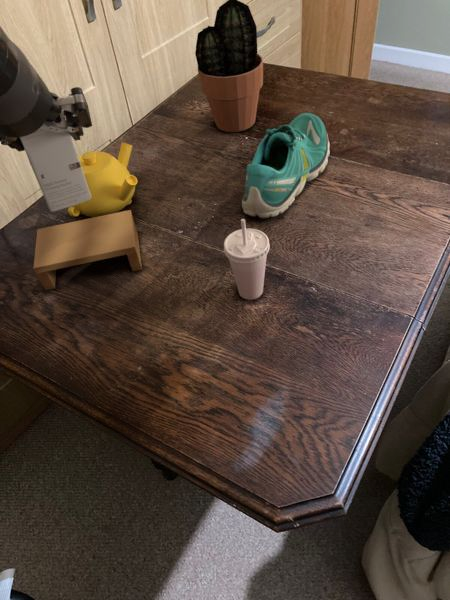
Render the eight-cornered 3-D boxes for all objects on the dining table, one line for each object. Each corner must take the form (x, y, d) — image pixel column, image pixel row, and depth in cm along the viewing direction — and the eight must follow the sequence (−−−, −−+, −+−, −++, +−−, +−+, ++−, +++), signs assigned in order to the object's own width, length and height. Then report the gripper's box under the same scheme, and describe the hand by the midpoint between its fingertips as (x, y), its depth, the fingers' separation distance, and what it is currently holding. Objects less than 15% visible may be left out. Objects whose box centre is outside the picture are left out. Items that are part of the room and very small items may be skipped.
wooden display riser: (45, 290, 80) (33, 268, 76) (48, 251, 87) (37, 229, 83) (142, 269, 81) (134, 246, 77) (137, 232, 88) (130, 209, 84)
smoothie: (225, 303, 74) (214, 231, 64) (235, 274, 78) (226, 201, 68) (267, 308, 72) (263, 234, 62) (275, 277, 76) (272, 204, 66)
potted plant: (221, 105, 117) (208, -15, 99) (275, 111, 112) (271, -13, 94) (194, 133, 110) (174, 9, 91) (250, 142, 105) (241, 12, 86)
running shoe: (340, 145, 100) (344, 90, 92) (291, 232, 83) (291, 174, 75) (288, 138, 104) (287, 84, 96) (232, 219, 87) (225, 163, 79)
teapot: (147, 220, 90) (133, 167, 82) (73, 236, 89) (51, 183, 81) (141, 178, 100) (127, 127, 91) (74, 192, 99) (54, 141, 91)
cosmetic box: (51, 214, 67) (14, 131, 58) (44, 198, 70) (8, 117, 61) (94, 199, 68) (65, 116, 60) (86, 183, 71) (57, 102, 63)
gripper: (63, 33, 48) (96, 99, 65) (-86, 60, 47) (-14, 120, 64) (80, 109, 48) (109, 156, 65) (-68, 137, 47) (-1, 177, 64)
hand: (48, 138), depth 64 cm, fingers closed on cosmetic box, 6 cm apart
